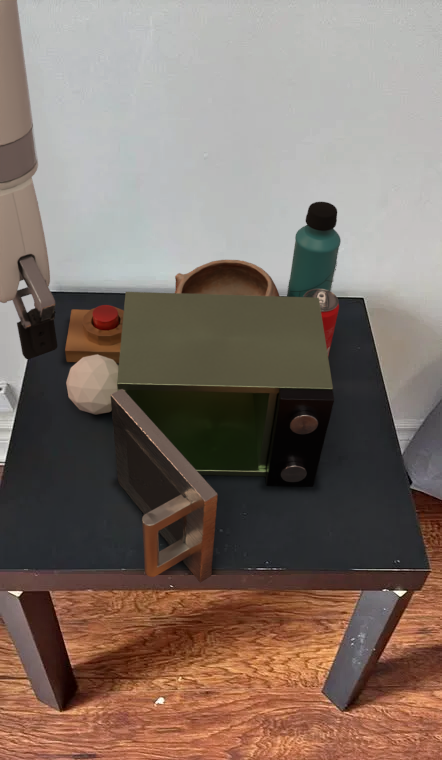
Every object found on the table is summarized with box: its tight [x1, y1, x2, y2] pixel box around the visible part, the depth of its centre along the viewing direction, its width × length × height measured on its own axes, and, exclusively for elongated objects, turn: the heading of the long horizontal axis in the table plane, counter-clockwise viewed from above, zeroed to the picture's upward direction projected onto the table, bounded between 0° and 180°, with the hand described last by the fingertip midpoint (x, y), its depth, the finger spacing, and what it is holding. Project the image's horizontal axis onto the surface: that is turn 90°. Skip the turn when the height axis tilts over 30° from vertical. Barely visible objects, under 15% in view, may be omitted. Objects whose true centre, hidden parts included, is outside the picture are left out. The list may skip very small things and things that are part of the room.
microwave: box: [117, 291, 335, 487], centre depth 93 cm, size 18×24×16 cm
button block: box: [64, 306, 124, 364], centre depth 108 cm, size 9×11×4 cm
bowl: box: [174, 259, 280, 296], centre depth 108 cm, size 16×16×10 cm
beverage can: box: [303, 289, 340, 357], centre depth 104 cm, size 5×5×12 cm
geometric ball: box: [65, 354, 119, 415], centre depth 99 cm, size 8×8×8 cm
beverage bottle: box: [286, 201, 342, 297], centre depth 107 cm, size 6×7×20 cm
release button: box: [92, 304, 119, 330], centre depth 106 cm, size 4×4×2 cm
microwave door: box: [110, 389, 219, 583], centre depth 83 cm, size 7×18×16 cm, turn 37°
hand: (18, 322), depth 71 cm, fingers open, 9 cm apart
